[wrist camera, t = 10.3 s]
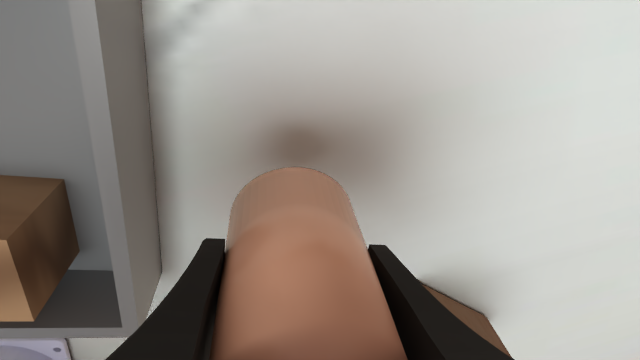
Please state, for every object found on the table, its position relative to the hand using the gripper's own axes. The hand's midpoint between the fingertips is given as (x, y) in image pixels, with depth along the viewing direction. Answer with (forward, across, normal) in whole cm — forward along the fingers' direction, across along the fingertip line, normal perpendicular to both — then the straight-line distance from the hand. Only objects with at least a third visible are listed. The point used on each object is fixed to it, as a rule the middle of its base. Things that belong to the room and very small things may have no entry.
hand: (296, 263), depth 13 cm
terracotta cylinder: (+2, 0, 0) cm, 2 cm away
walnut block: (+9, +14, +5) cm, 17 cm away
